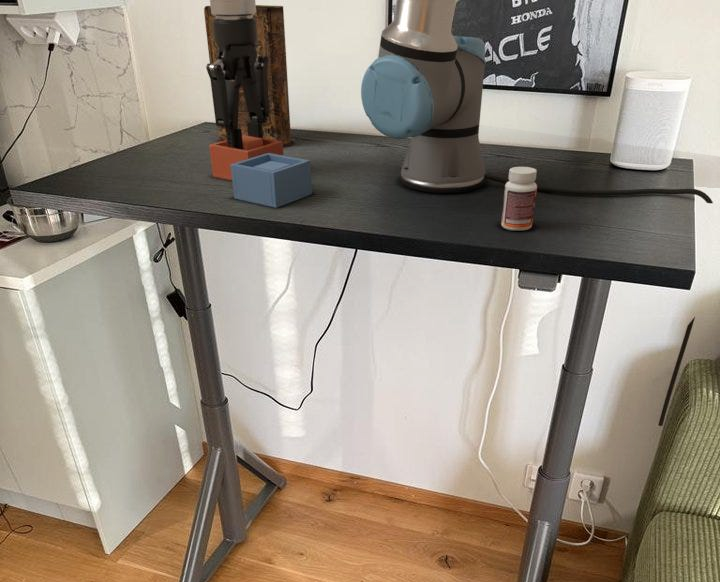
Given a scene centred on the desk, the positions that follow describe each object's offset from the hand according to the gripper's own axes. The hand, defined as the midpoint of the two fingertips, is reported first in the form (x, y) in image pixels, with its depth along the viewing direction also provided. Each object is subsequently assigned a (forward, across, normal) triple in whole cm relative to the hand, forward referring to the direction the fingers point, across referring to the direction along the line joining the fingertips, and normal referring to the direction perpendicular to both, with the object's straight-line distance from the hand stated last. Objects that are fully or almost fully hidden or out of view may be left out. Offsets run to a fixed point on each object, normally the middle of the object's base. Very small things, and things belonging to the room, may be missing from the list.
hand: (247, 163), depth 137 cm
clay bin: (+2, 0, 0) cm, 2 cm away
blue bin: (+2, +8, +13) cm, 15 cm away
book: (+2, -21, -17) cm, 27 cm away
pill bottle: (+2, -1, +55) cm, 55 cm away
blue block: (+1, +8, +13) cm, 16 cm away
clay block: (0, 0, 0) cm, 0 cm away
